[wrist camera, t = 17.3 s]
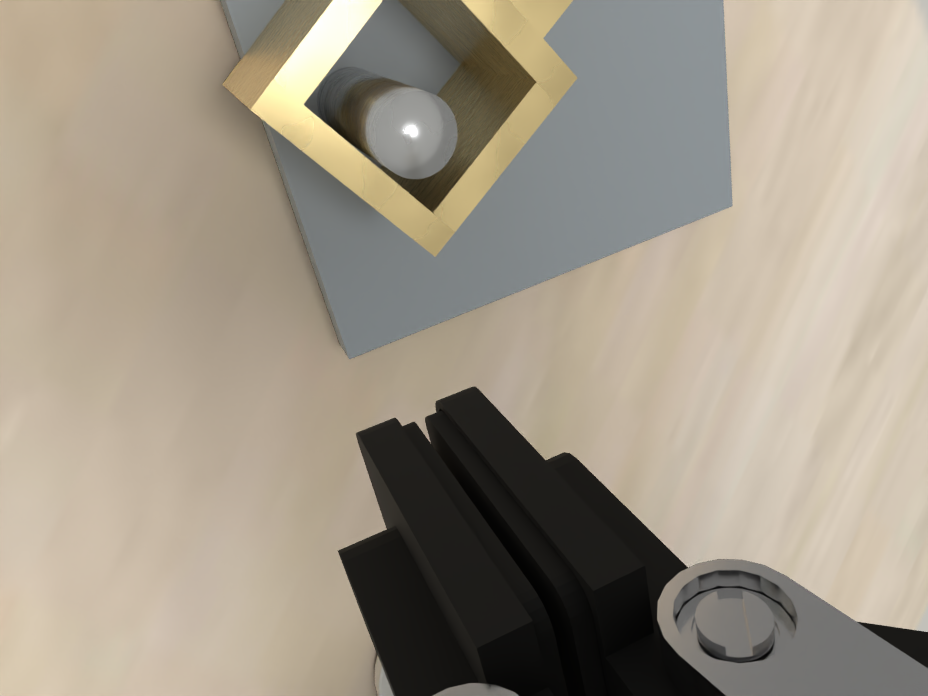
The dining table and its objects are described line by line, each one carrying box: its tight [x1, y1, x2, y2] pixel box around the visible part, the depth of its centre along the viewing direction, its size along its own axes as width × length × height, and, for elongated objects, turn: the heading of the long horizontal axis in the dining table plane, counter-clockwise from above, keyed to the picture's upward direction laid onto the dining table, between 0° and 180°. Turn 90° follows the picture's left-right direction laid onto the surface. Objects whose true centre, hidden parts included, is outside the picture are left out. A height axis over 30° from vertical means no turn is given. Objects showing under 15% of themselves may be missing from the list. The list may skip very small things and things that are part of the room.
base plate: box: [220, 0, 732, 359], centre depth 29 cm, size 20×19×2 cm
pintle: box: [317, 67, 458, 179], centre depth 25 cm, size 2×2×8 cm
